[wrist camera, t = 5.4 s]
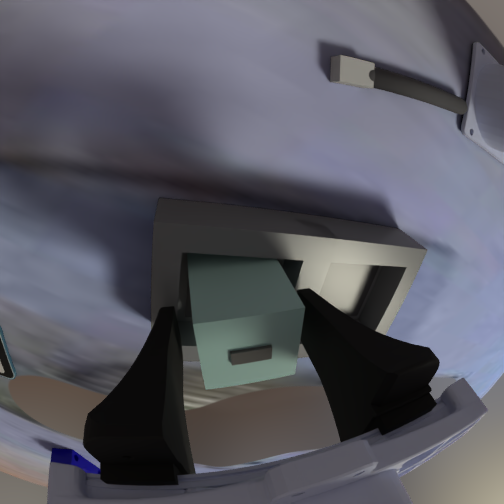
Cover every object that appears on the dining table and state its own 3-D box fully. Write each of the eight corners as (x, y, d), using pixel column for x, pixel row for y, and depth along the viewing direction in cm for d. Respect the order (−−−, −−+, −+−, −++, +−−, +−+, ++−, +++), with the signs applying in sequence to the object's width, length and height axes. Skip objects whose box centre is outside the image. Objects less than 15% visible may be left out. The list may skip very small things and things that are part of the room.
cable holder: (52, 446, 24) (49, 472, 20) (72, 448, 24) (70, 475, 21) (83, 468, 28) (83, 491, 24) (103, 469, 28) (103, 493, 25)
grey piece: (399, 228, 18) (427, 249, 15) (358, 322, 21) (377, 348, 19) (159, 198, 14) (153, 221, 11) (153, 323, 17) (152, 359, 14)
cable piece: (458, 97, 14) (471, 99, 13) (457, 116, 15) (469, 119, 14) (330, 57, 12) (341, 54, 11) (329, 81, 13) (340, 81, 11)
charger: (268, 244, 15) (306, 309, 10) (266, 306, 17) (295, 376, 12) (186, 253, 14) (193, 327, 9) (195, 316, 16) (206, 392, 11)
